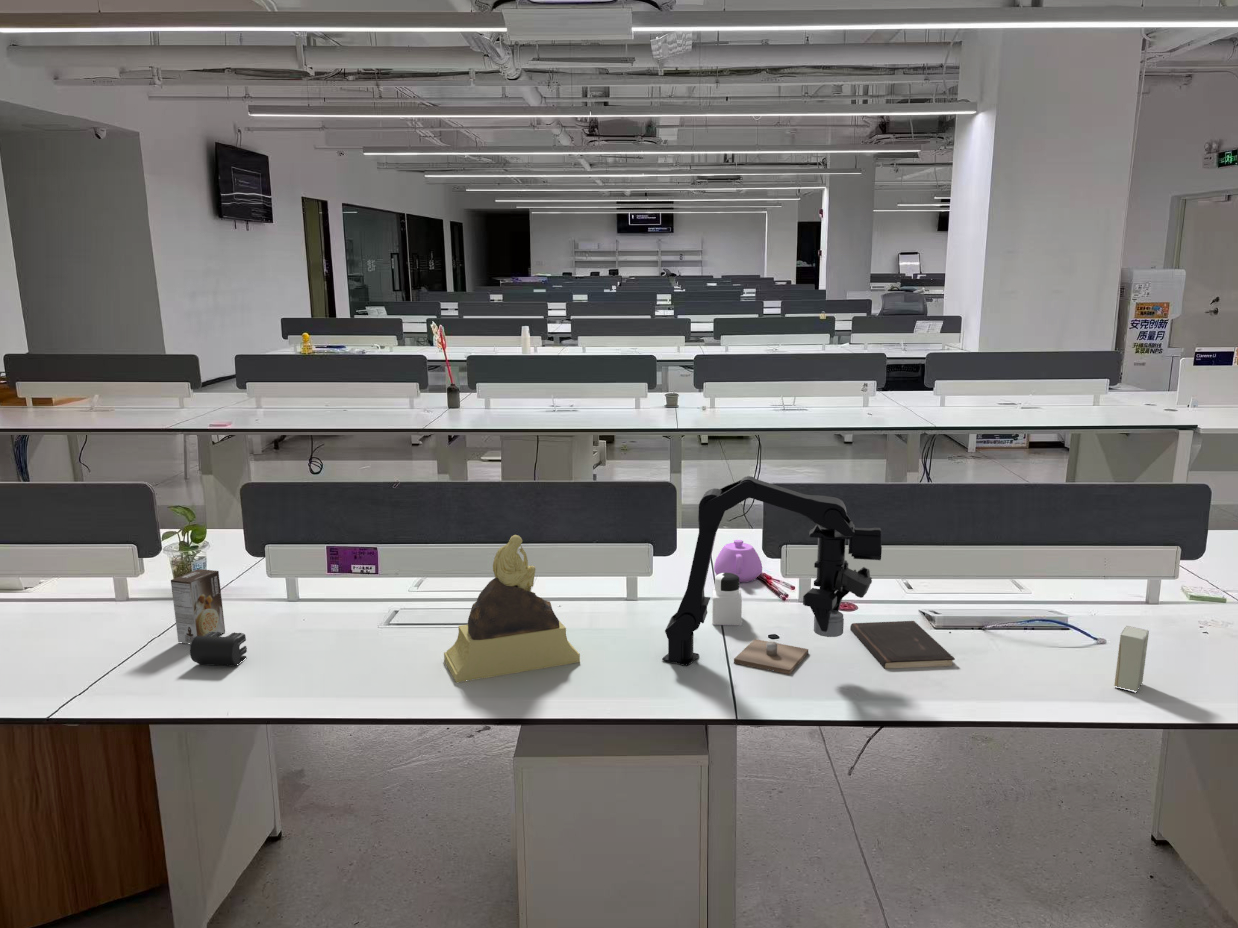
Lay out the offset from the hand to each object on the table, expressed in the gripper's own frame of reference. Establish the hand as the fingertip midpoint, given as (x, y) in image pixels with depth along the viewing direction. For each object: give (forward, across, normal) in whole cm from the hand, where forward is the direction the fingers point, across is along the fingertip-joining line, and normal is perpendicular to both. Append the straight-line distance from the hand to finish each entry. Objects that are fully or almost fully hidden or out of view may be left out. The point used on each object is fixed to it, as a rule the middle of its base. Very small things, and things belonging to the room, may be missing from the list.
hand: (828, 626), depth 201 cm
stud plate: (+10, +1, +13) cm, 17 cm away
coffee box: (+10, -52, +139) cm, 149 cm away
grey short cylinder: (+1, 0, 0) cm, 1 cm away
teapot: (+11, +53, +42) cm, 68 cm away
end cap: (+10, -60, +122) cm, 136 cm away
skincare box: (+11, +22, -58) cm, 63 cm away
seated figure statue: (+11, -28, +64) cm, 71 cm away
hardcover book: (+11, +21, -11) cm, 26 cm away
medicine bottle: (+11, +18, +31) cm, 37 cm away
